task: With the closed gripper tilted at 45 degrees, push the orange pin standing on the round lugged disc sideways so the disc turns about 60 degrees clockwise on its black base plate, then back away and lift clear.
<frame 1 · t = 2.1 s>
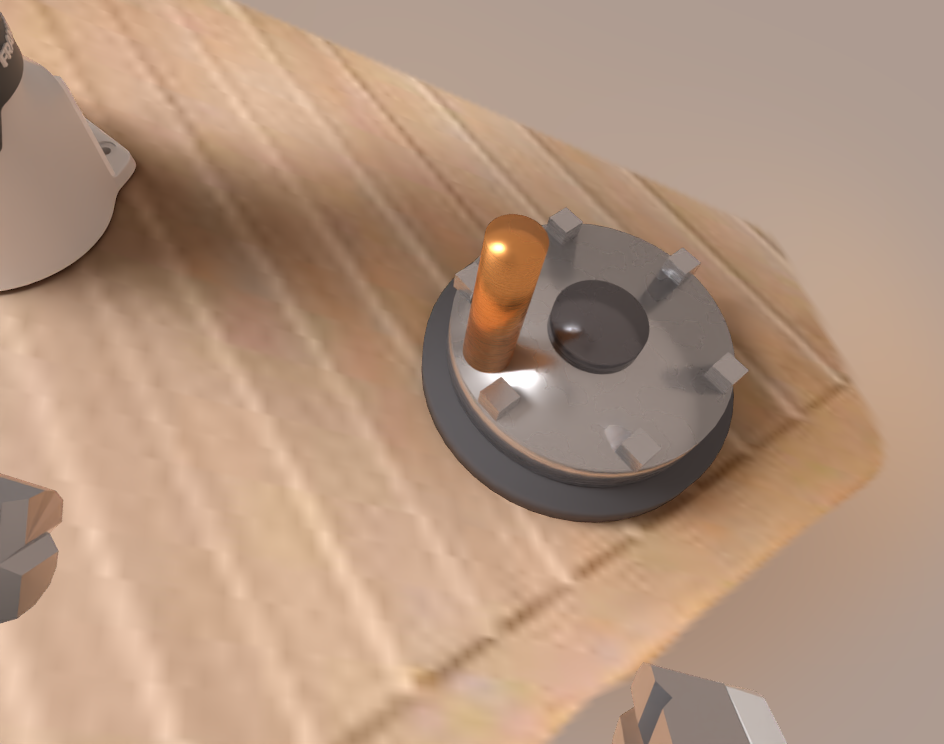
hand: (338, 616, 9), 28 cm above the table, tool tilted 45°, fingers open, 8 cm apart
base plate: (573, 372, 44), on the table
round lugged disc: (611, 299, 36), point 9 cm above the table, hinge at 0.0°
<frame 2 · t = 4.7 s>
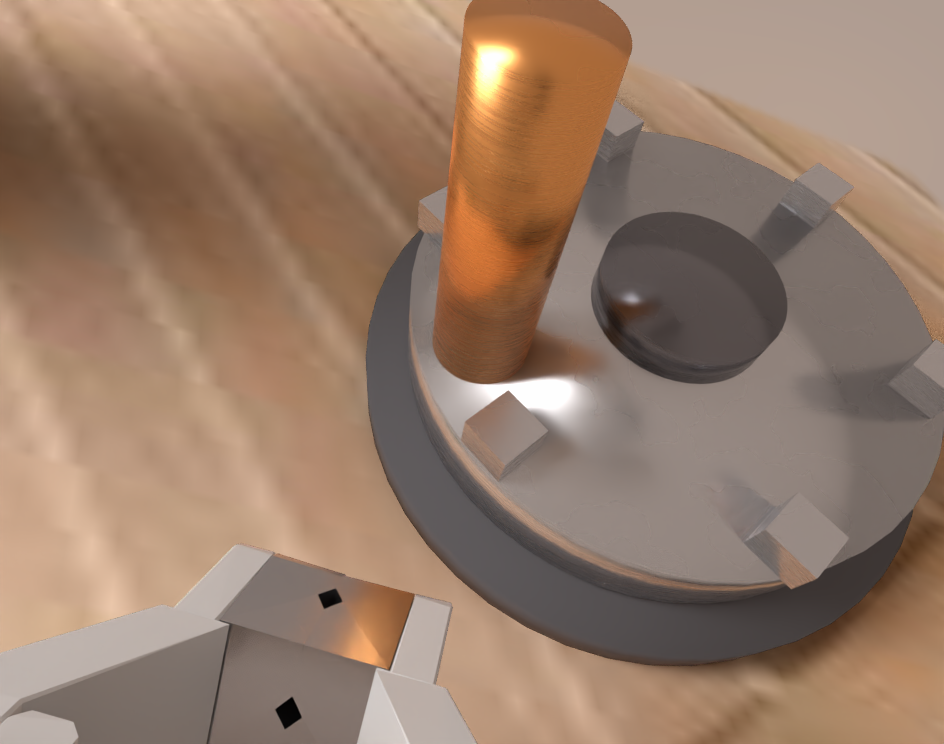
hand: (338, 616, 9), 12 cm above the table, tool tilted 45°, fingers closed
base plate: (629, 382, 26), on the table
round lugged disc: (724, 234, 18), point 9 cm above the table, hinge at 0.0°
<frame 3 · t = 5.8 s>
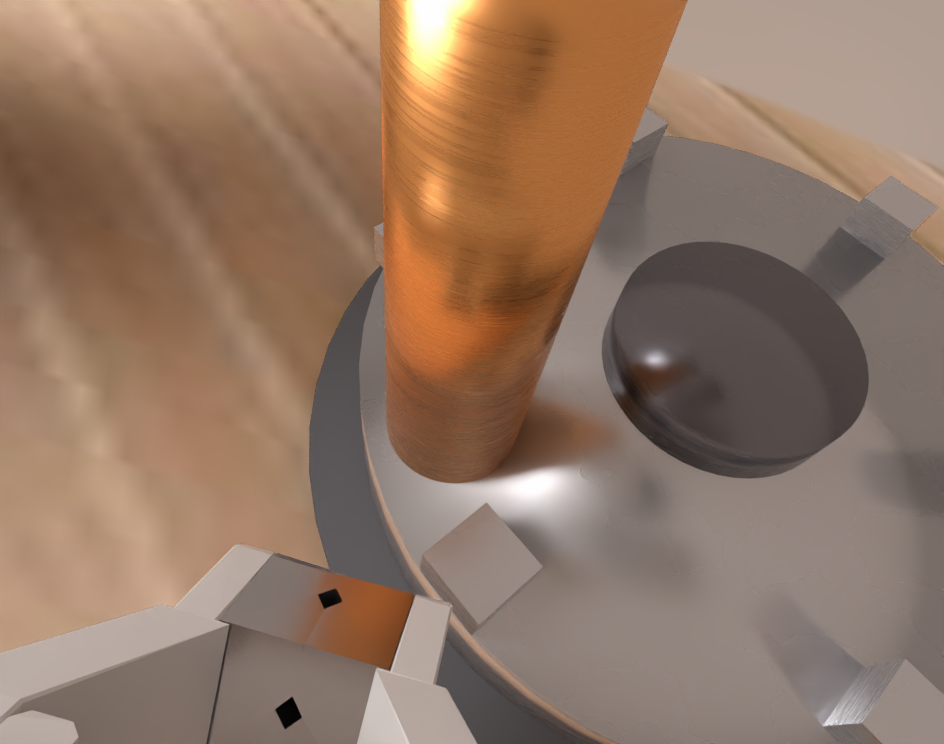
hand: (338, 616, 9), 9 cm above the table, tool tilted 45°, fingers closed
base plate: (648, 450, 20), on the table
round lugged disc: (790, 279, 13), point 9 cm above the table, hinge at 0.0°
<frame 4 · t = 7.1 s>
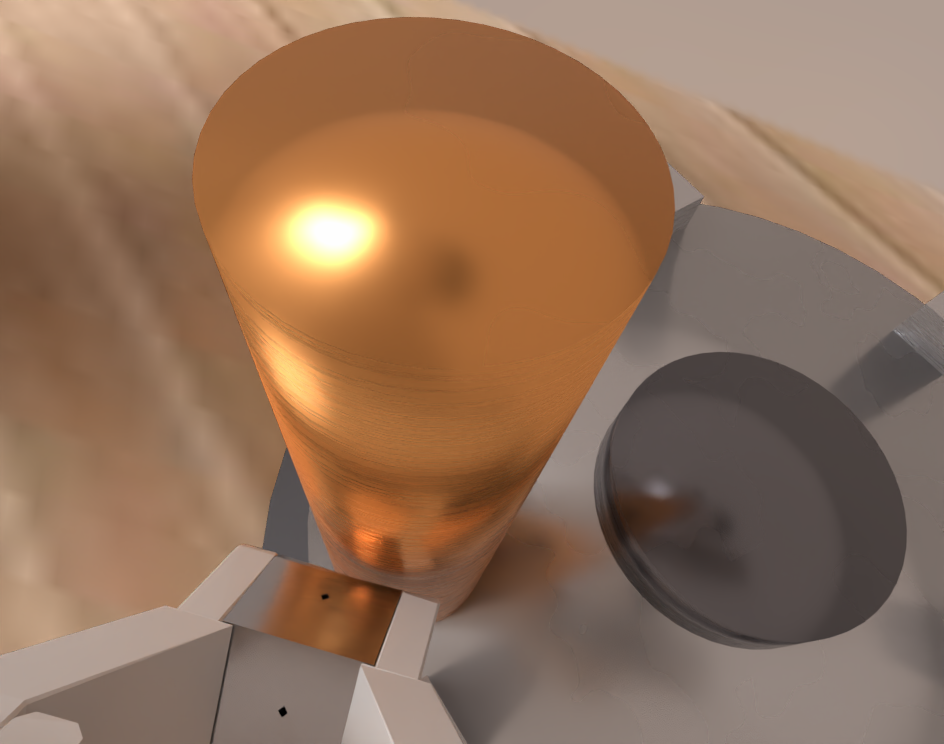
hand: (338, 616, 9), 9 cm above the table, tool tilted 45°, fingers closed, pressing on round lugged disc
base plate: (646, 555, 18), on the table
round lugged disc: (820, 438, 11), point 9 cm above the table, hinge at 6.3°, touching gripper
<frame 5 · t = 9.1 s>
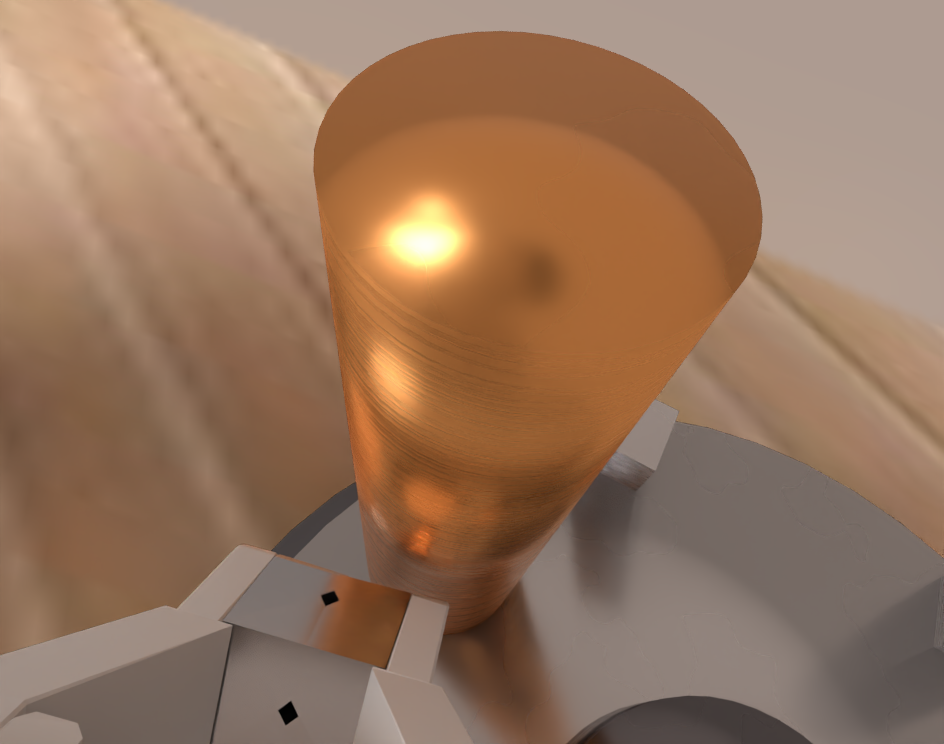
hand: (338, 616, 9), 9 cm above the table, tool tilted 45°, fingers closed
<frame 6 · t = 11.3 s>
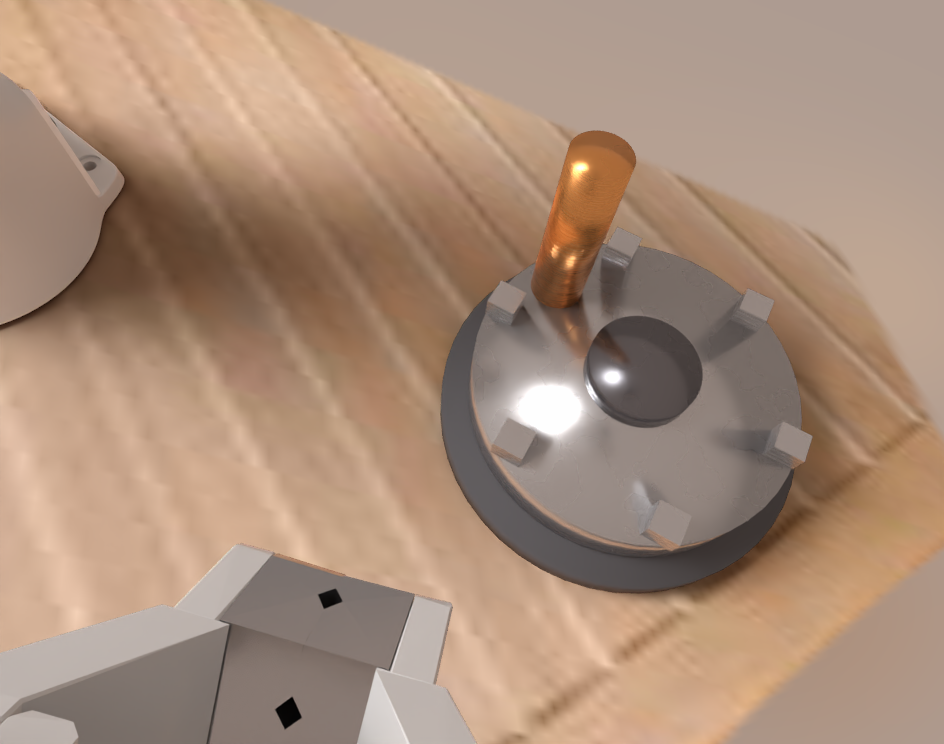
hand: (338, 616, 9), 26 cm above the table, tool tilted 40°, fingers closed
base plate: (611, 413, 39), on the table
round lugged disc: (660, 344, 31), point 9 cm above the table, hinge at 68.8°
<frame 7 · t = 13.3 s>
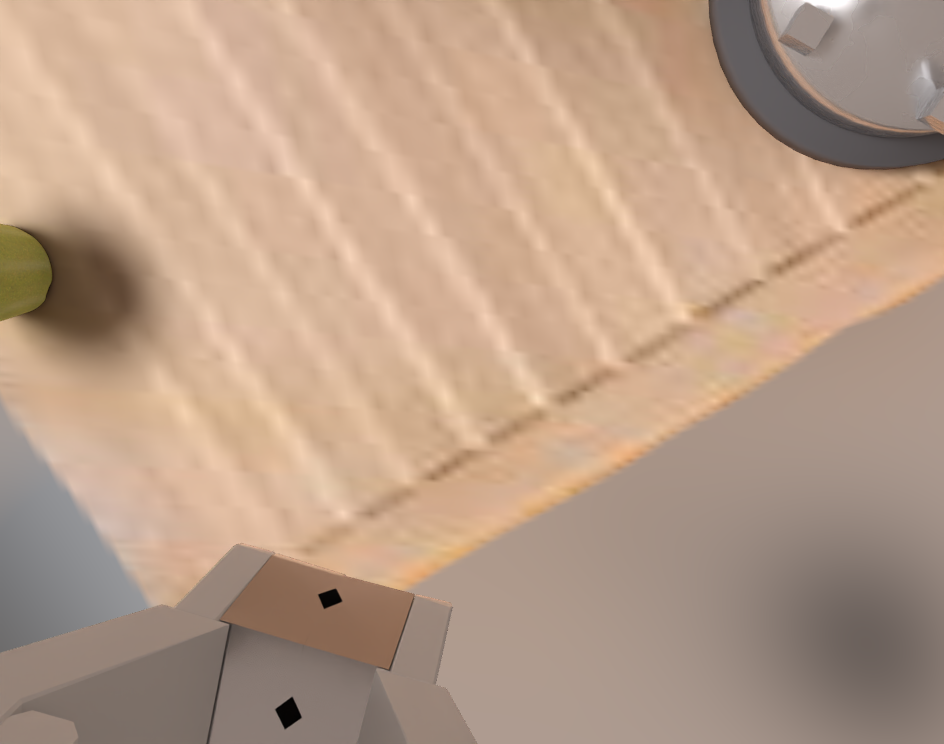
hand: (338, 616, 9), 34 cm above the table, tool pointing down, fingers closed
plant pot: (15, 270, 45), on the table
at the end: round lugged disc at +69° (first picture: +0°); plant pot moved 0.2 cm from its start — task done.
